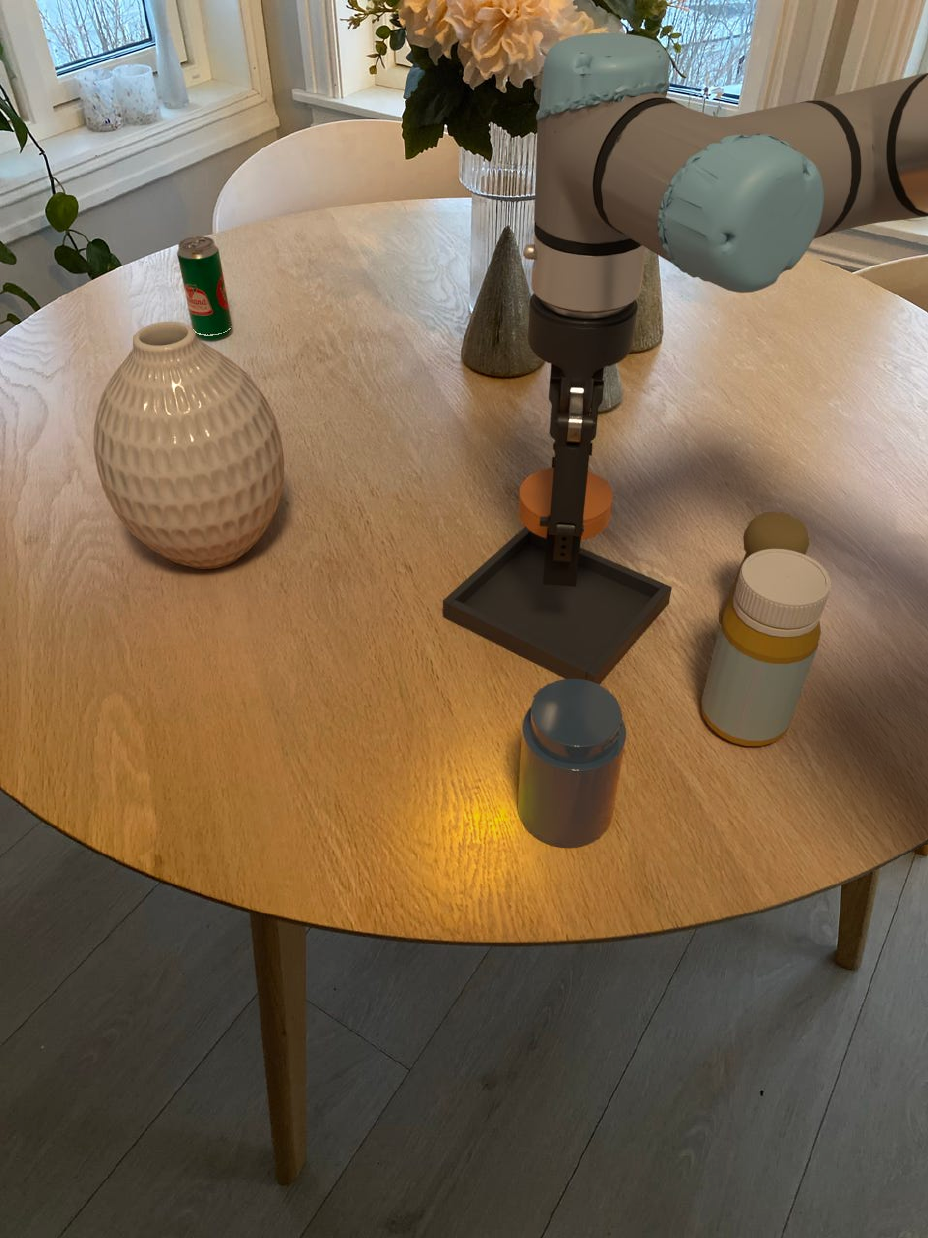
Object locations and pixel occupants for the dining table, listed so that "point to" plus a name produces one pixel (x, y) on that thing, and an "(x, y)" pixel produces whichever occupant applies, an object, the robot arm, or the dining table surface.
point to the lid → (538, 503)
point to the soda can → (204, 287)
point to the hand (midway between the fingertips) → (561, 550)
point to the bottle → (765, 647)
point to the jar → (570, 762)
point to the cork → (770, 540)
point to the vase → (188, 449)
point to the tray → (557, 608)
